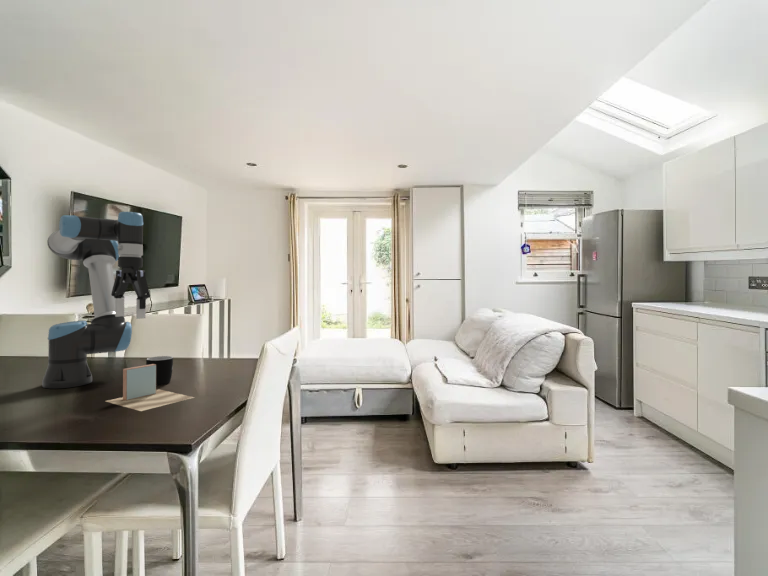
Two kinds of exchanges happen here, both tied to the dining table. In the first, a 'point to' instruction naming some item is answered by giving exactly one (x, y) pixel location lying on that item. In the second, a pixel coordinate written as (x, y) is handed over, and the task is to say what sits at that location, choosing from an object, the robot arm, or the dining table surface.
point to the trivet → (151, 400)
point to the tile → (139, 381)
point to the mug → (162, 368)
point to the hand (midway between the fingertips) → (130, 317)
